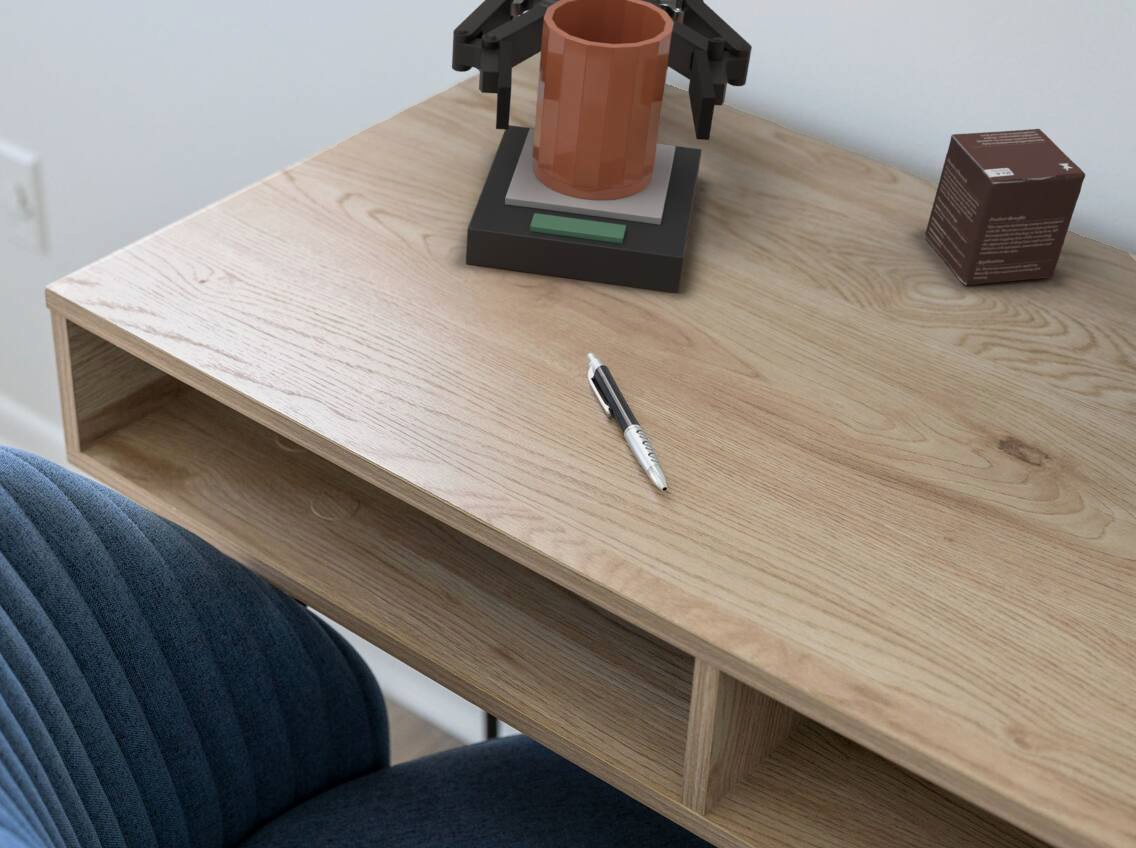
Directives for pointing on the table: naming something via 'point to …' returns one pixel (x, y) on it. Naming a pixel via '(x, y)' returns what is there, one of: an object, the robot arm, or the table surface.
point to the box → (1003, 206)
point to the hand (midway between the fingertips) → (604, 113)
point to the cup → (600, 96)
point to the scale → (584, 222)
